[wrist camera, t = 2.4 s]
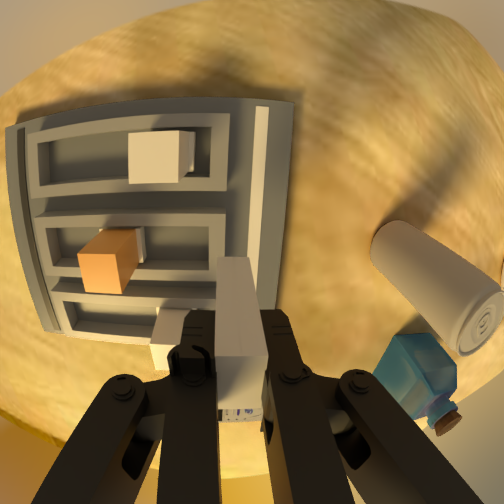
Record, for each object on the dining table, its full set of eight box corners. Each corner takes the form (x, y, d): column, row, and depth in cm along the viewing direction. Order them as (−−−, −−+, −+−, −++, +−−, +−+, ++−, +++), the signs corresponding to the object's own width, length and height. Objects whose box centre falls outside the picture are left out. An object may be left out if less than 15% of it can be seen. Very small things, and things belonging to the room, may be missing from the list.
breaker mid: (108, 255, 18) (81, 291, 14) (104, 224, 17) (72, 253, 13) (146, 256, 19) (126, 294, 14) (143, 223, 18) (120, 254, 13)
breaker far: (161, 324, 21) (151, 369, 17) (158, 299, 20) (145, 343, 16) (198, 325, 21) (195, 371, 17) (197, 300, 21) (192, 345, 16)
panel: (49, 324, 22) (38, 340, 19) (14, 126, 14) (-6, 129, 12) (268, 335, 24) (272, 356, 22) (289, 104, 17) (300, 99, 14)
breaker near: (148, 170, 16) (123, 184, 12) (149, 133, 15) (122, 133, 11) (194, 169, 17) (184, 182, 12) (196, 132, 16) (185, 130, 11)
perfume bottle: (429, 332, 28) (482, 399, 17) (407, 368, 30) (449, 435, 19) (393, 335, 27) (449, 415, 16) (371, 374, 29) (412, 451, 18)
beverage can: (399, 206, 21) (508, 272, 10) (418, 246, 22) (508, 319, 11) (357, 242, 21) (451, 334, 11) (380, 279, 23) (459, 369, 12)
